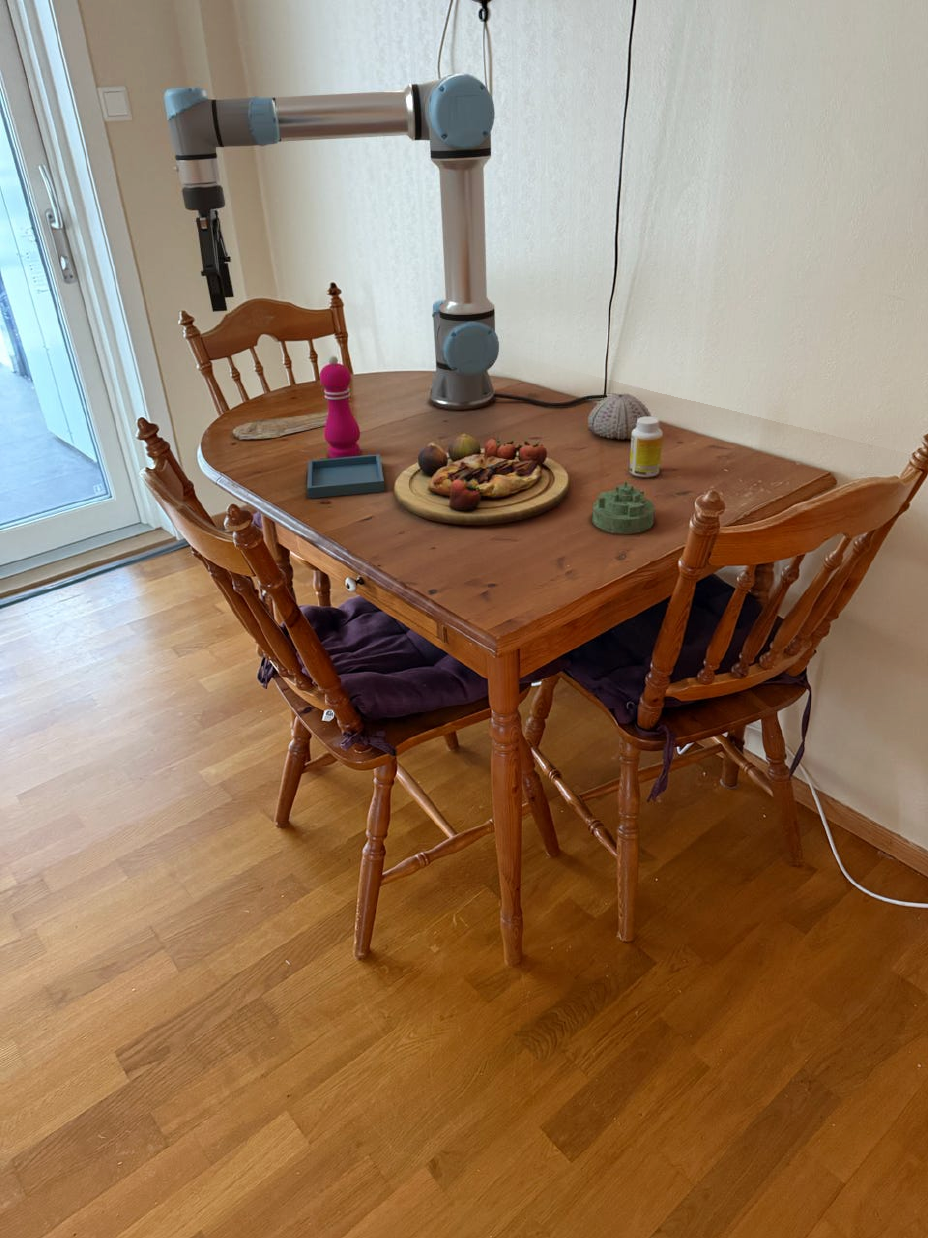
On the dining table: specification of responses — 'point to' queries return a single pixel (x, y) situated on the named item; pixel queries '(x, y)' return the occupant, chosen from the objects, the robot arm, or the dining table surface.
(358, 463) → the tray
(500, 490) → the wooden plate
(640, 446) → the supplement bottle
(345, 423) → the pepper mill
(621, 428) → the sea urchin shell
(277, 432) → the fish fossil
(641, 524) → the decorative artifact
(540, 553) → the dining table surface
